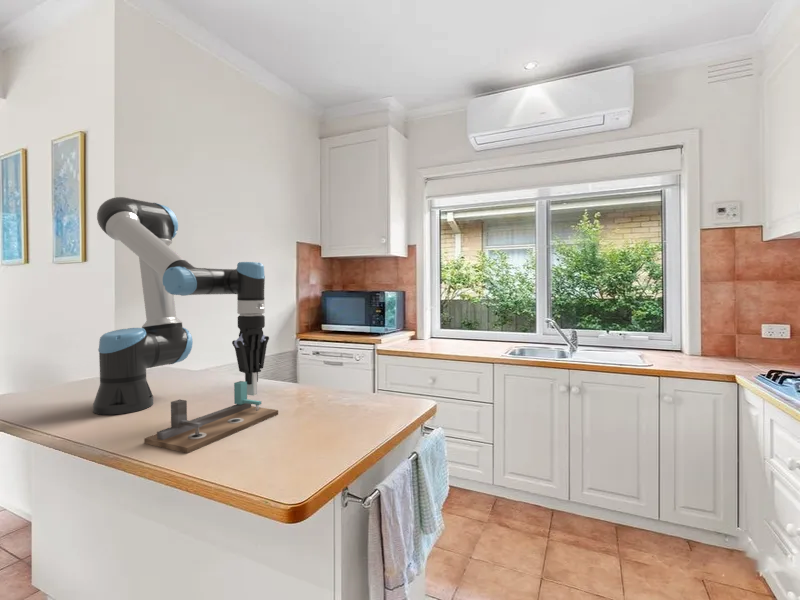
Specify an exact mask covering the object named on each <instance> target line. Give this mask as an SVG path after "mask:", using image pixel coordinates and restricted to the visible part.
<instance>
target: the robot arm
mask: <svg viewBox="0 0 800 600" xmlns="http://www.w3.org/2000/svg"><path fill="white" fill-rule="evenodd" d="M96 213H97V214H96V220H97V224H98V226H99V227H100V229H101V230H102V231H103V232H104V233H105V234H106V236H108V237H109V238H110V239H113V240H115V241H119V242H120V243H122V244H124V246H125V247H126V248H128V249H129V250H130V251H131V252H132V253H133V254H135V256H137V257H138V259H139V269H140V277H141V285H142V295H143V302H144V309H145V318H146V321H145V323H143V324H142V326H141V327H129V328H121V329H116V330H111V331H108V332H105V333H103V334H102V335H101V336H100V338H99V340H98V341H99V342H98V349H97V350H98V354H99V355H98V357H99V359H98V360H99V361H98V362H99V387H98V390H97V393H96V395H95V398H94V400H93V403H92V411H93V413H94V414H97V415H102V416H103V415H104V416H105V415H106V416H107V415H109V416H110V415H121V414H130V413H134V412H139V411H142V410H145V409H147V408H149V407H152V406H153V405H154V395H153V393H152V390H151V387H150V385H149V383H148V380H147V369H153V368H156V367H157V368H158V367H163V366H168V365H173V364H174V365H175V364H176V363H177V364H178V363H180V362H182V361H184V360H186V359H187V358H188V356H189V355H190V354H191V352H192V349H193V336H192V334H191V333H190V331H189V330H188V329H187V328H185V327H183V321H182V320H180V319H179V318H178V317H177V314H176V313H177V312H176V304H175V296H181V297H182V296H194V295H195V296H198V295H203V296H204V295H205V296H206V295H237V296H236V297H237V299H236V301H237V310H236V311H237V314H238V316H237V328H238V329H239V332H238V338H237V339H236V340H235V339H234V340H232V342H231V344H232V345H233V347H234V349H235V350H234V351H235V356H236V361H237V366H238V370H239V372H240V373H243V374H244V380H245V381H244V382H247V396H257V395H258V383H259V373H261V372H262V369H264V364H265V358H266V352H267V347H268V346H267V345H268V342H269V340H270V337H269V336H268V335H265V334H264V330H263V328H265V327H266V326H265V325H266V324H265V321H266V317H265V315H264V313H265V283H266V282H265V280H266V275H265V266H264V264H263V263H262V262H260V261H259V262H258V261H239V262H238V263H237V265H236V266H237V267H236V268H234V269H233V268H231V269H229V268H208V267H207V268H206V267H195V266H194V265H192V264H191V263H189V262H188V261H187V260H186V259H185V258H184V257H182V256H181V255H180V254H178V253H177V252H176V251H175V250H174V249H173V248H171V247H170V246H171V245H172V243H173V240H172V239H174V238H175V237H176V235H177V233H178V232H177V231H178V230H179V221H178V218H177V216H176V214H175V212H174V211H173V210H172V209H171V208H170V207H169V206H167V205H164V204H160V203H158V202H150V201H144V200H139V199H134V198H129V197H125V196H119V197H118V196H115V197H112V198H109V199H106V200H105V201H104V202H103V203H101V205H100V206H99V208H98V210H97V212H96ZM174 295H175V296H174Z"/></svg>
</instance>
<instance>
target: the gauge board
mask: <svg viewBox="0 0 800 600" xmlns="http://www.w3.org/2000/svg"><path fill="white" fill-rule="evenodd" d="M187 403H188V401H187V399H186V400H184V399H176V400H173V401H170V426H169V427H167V428H164V429H162V430H159V431H156V434H152V435H150V436H147V437H143V438H144V439H143V443H144V444H146V445H151V446H154V447H158V448H159V447H160V448H163V449H167V450H171V451H177V452H181V453H184V454H190V453H192V452H193V451H197V450H199V449H201V448H203V447H205V446H208V445H210V444H212V443H215V442H218V441H220V440H222V439H224V438H226V437H228V436H231V435H234V434H236V433H238V432H240V431H243V430H245V429H248V428H250V427H253V426H255V425H257V424H259V423H261V422H265V421H266V420H269V419H271V418H273V417H275V416H278V415H279V410H278V409H273V408H266V407H260V406H259V411H256V406H255V405H254V406H252V404H248V403H244V404H242V405H239V404H234V405H233V404H232V405H231V406H228V407H225V408H222V409H219V410H216V411H214V412H211V413H208V414H205V415H202V416H198V417H196V418H194V419H190V420H188V410H187V409H188V406H187Z"/></svg>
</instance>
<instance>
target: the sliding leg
mask: <svg viewBox="0 0 800 600" xmlns="http://www.w3.org/2000/svg"><path fill="white" fill-rule="evenodd" d="M233 384H234V385H233V386H234V387H233V388H234V389H233V390H234V391H233V393H234V399H233V401H234V405H236V404H239V405H242V404H244V403H248V404H251V405H254V406H255V407H256V411H259V407H260V406H261V405H262V401H261V400H255V399H249V398H248V395H247V382H245V381H244V380H239V381H236V382H233Z"/></svg>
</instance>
